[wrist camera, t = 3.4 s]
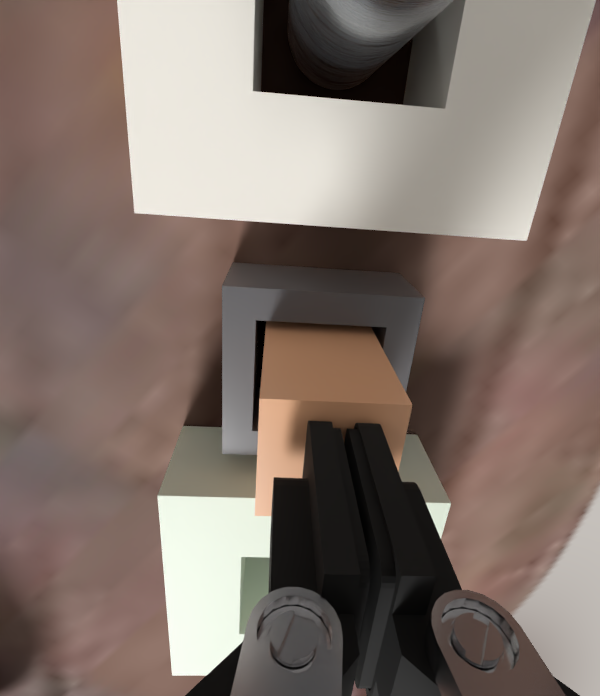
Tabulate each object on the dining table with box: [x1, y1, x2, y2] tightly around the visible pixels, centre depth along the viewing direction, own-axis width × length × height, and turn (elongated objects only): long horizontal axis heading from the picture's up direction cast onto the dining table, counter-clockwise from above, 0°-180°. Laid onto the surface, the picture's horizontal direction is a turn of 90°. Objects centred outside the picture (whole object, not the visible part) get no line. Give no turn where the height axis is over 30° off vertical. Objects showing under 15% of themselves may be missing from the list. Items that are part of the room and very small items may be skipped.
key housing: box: [222, 262, 425, 455], centre depth 15 cm, size 6×6×3 cm
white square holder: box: [158, 426, 451, 675], centre depth 18 cm, size 10×10×4 cm
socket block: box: [117, 0, 596, 241], centre depth 10 cm, size 10×10×4 cm
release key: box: [255, 321, 412, 516], centre depth 12 cm, size 3×3×5 cm
